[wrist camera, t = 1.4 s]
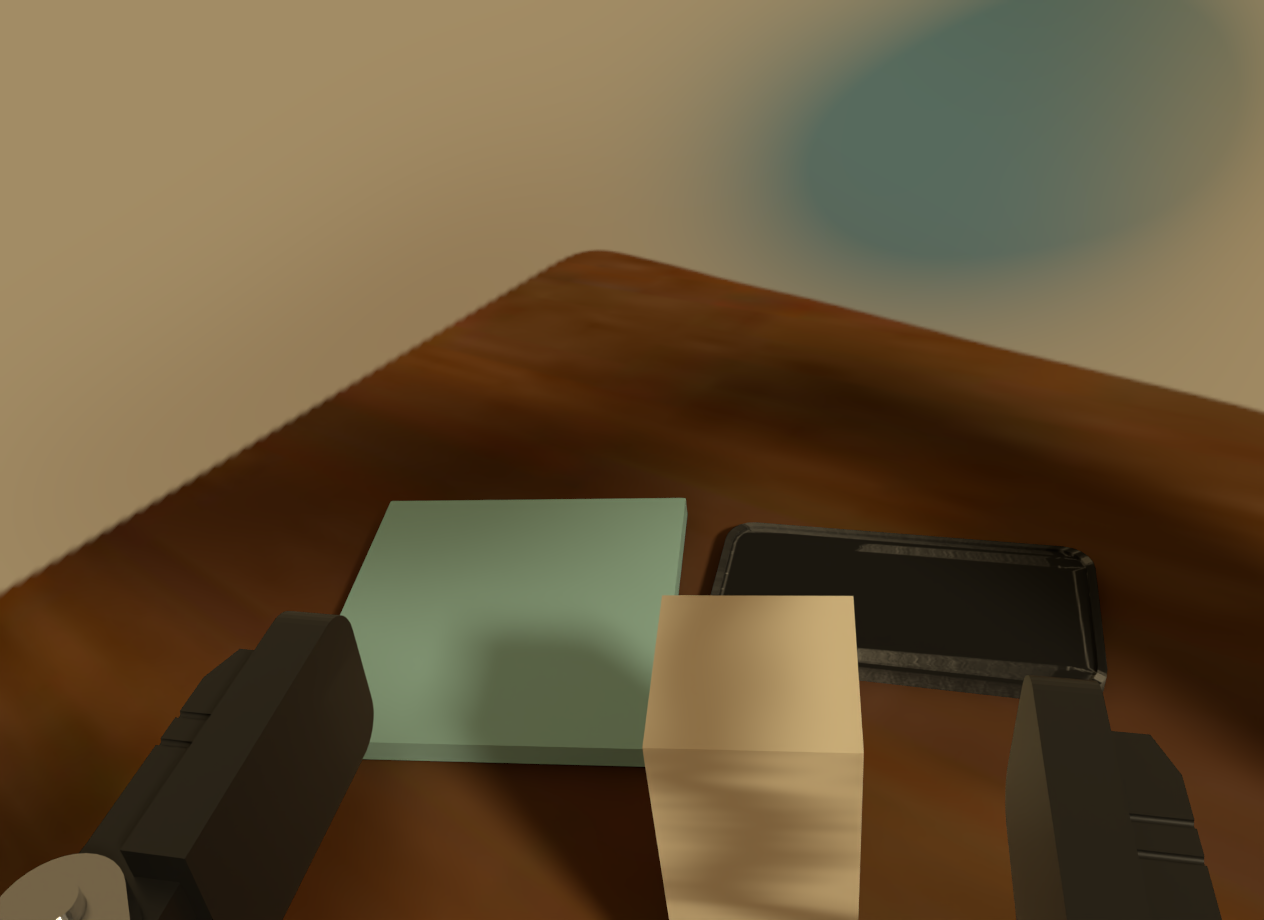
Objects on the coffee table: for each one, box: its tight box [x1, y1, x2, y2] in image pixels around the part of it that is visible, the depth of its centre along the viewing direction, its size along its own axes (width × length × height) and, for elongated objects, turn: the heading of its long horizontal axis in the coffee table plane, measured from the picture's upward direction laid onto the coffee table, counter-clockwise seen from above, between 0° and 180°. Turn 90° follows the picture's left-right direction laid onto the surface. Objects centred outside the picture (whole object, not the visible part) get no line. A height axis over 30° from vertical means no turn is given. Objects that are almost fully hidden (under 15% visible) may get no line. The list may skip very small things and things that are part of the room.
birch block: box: [642, 595, 864, 920], centre depth 30 cm, size 5×5×12 cm
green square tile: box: [340, 498, 687, 767], centre depth 46 cm, size 14×14×1 cm
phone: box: [711, 523, 1107, 699], centre depth 44 cm, size 8×1×15 cm
